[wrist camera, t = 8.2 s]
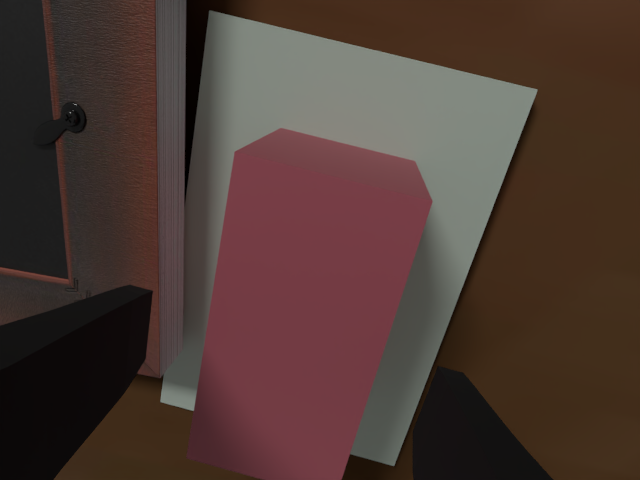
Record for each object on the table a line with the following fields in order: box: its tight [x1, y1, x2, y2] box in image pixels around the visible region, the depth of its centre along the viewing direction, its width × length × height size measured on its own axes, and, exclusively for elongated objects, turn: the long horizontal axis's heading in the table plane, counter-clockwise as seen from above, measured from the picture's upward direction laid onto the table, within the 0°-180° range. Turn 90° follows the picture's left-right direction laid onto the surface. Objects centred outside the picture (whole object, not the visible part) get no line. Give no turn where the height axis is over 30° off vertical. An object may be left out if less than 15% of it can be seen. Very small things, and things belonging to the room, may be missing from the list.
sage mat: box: [160, 10, 537, 466], centre depth 16 cm, size 15×10×1 cm, turn 167°
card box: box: [186, 128, 433, 480], centre depth 14 cm, size 9×4×5 cm, turn 167°
